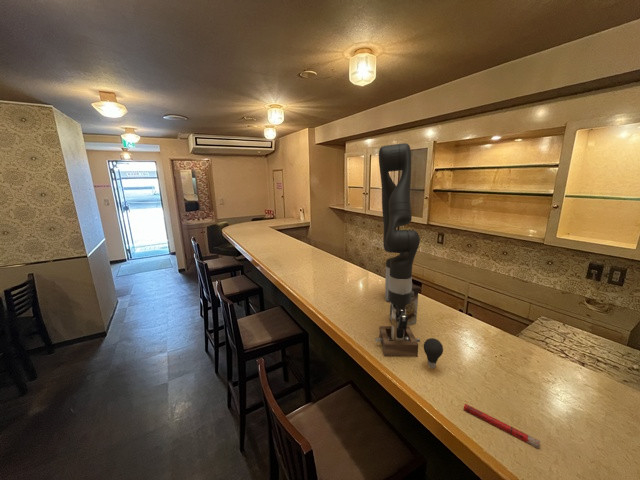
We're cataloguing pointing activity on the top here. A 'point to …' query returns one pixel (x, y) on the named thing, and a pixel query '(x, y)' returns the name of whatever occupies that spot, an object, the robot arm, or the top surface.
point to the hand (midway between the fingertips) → (397, 332)
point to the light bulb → (433, 351)
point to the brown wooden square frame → (398, 343)
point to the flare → (503, 426)
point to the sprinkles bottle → (395, 329)
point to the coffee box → (411, 306)
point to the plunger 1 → (381, 339)
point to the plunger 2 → (409, 339)
